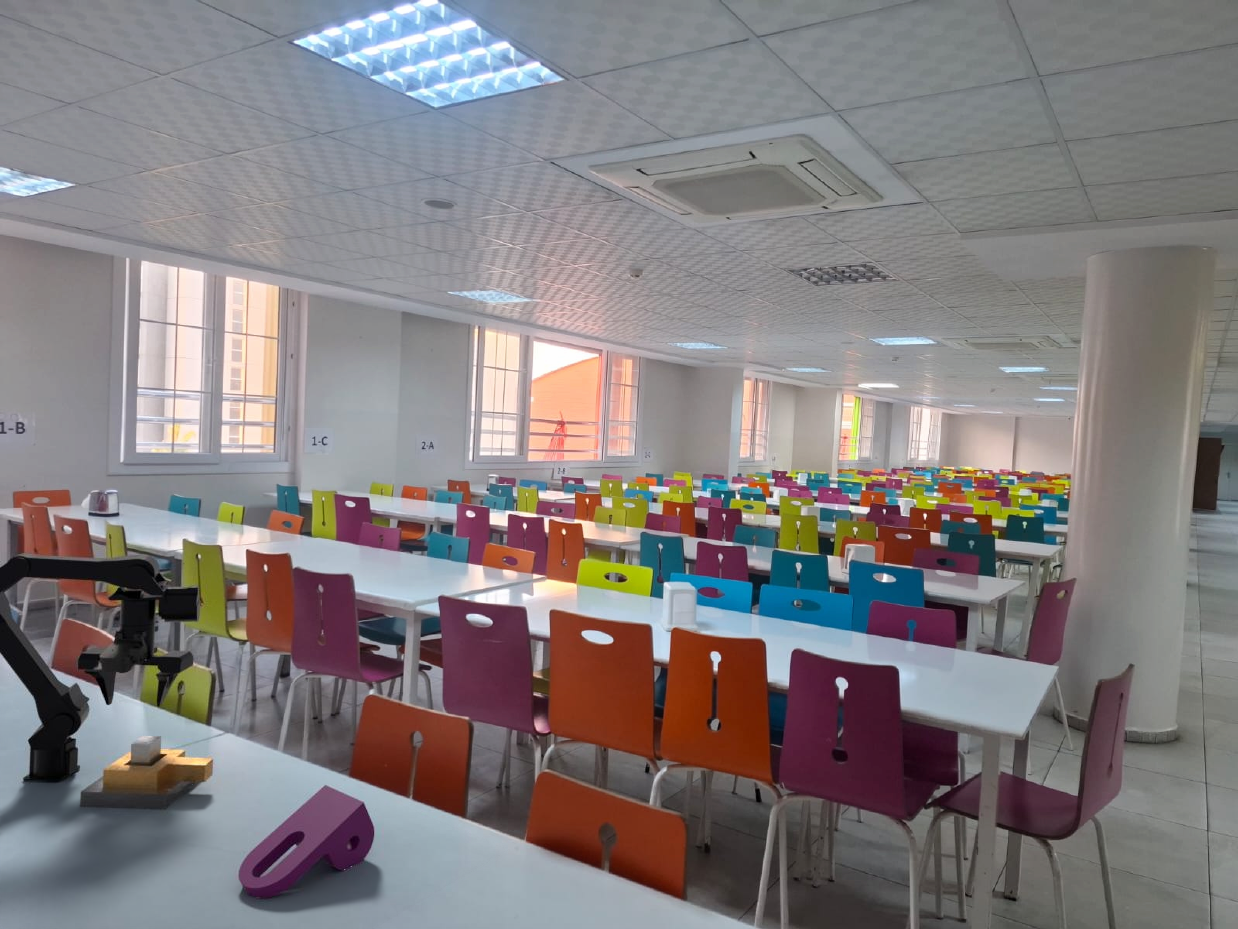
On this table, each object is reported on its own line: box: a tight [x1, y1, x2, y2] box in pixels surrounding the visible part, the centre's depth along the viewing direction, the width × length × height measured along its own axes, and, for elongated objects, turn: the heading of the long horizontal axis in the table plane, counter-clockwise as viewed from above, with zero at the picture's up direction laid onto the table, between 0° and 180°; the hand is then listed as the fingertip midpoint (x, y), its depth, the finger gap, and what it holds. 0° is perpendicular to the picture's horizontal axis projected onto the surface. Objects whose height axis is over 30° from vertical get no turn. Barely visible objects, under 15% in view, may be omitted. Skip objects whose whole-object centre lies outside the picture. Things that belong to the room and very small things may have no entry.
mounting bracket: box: [238, 784, 375, 899], centre depth 123 cm, size 10×8×18 cm
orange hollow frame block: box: [79, 748, 214, 810], centre depth 146 cm, size 18×14×6 cm
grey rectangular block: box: [130, 735, 162, 766], centre depth 146 cm, size 3×4×9 cm
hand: (134, 705), depth 155 cm, fingers open, 9 cm apart
